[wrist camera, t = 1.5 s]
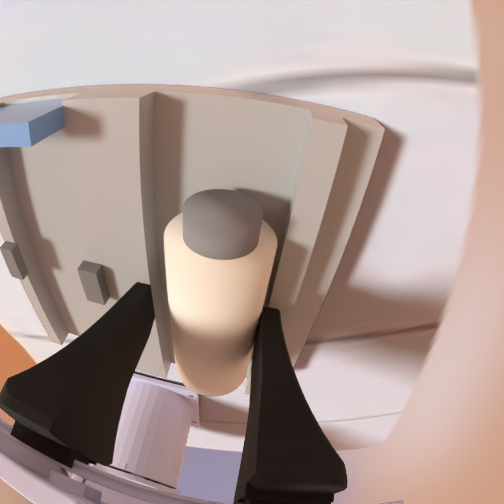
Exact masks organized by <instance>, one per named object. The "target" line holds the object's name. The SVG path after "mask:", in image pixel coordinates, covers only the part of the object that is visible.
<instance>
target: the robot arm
mask: <svg viewBox="0 0 504 504" xmlns="http://www.w3.org/2000/svg"><path fill="white" fill-rule="evenodd" d="M154 319H155V311H154V305H153V298H152V291H151V285H149V284H145V283H140V282H136V283H135V284H134V285H133V286H132V287H131V288H130V289H129V290H128V291H127V292H126V293H125V294H124V295H123V296H122V297H121V298H120V299H119V300H118V301H117V302H116V303H115V304H114V305H113V306H112V307H111V308H110V309H109V310H108V311H107V312H106V313H105V314H104V315H103V316H102V317H101V318H100V319H99V320H97V321H96V322H95V323H94V324H93V325H92V326H91V327H89V328H88V329H87V330H86V331H85V332H84V333H82V334H81V335H80V336H79V337H78V338H76V339H75V340H74V341H72V342H71V343H70V344H68V345H67V346H66V347H64V348H63V349H61V350H60V351H58V352H57V353H55V354H54V355H52V356H51V357H49V358H47V359H46V360H44V361H42V362H40V363H39V364H37V365H35V366H33V367H31V368H30V369H28V370H26V371H23V372H21V373H19V374H17V375H14V376H12V377H10V378H8V379H7V381H6V382H5V384H4V386H3V388H2V391H1V393H0V408H1V409H2V410H3V411H5V412H6V413H7V414H8V415H9V416H11V417H12V418H13V419H14V420H15V423H14V426H12V425H10V424H8V423H7V422H5V421H4V420H2V419H1V418H0V478H1V479H2V480H3V481H4V482H6V483H7V484H8V485H9V486H11V487H12V488H13V489H15V490H16V491H17V492H19V493H20V494H21V495H23V496H24V497H26V498H27V499H28V500H30V501H31V502H33V503H34V504H224V503H218V502H212V501H206V500H201V499H196V498H191V497H187V496H182V495H180V490H176V487H177V482H178V478H179V473H180V468H181V465H182V460H183V456H184V451H185V447H186V442H187V438H188V434H189V429H190V425H192V426H199V424H200V417H199V394H198V393H195V392H193V391H192V390H190V389H189V388H187V387H186V386H182V385H177V384H173V383H169V382H165V381H161V380H157V379H153V378H150V377H146V376H142V375H139V374H135V373H134V372H135V369H136V367H137V365H138V362H139V360H140V358H141V355H142V353H143V351H144V348H145V346H146V344H147V341H148V339H149V336H150V333H151V330H152V326H153V323H154ZM89 463H91V466H90V465H88V464H89ZM66 470H67V471H69V472H71V473H73V475H72V477H71V478H70V477H69V476H68V473H67V471H66ZM346 488H347V474H346V469H345V464H344V462H343V461H342V459H341V458H340V457H339V455H338V454H337V453H336V451H335V450H334V448H333V447H332V445H331V444H330V442H329V441H328V439H327V438H326V436H325V434H324V433H323V431H322V429H321V428H320V426H319V424H318V422H317V421H316V419H315V417H314V415H313V413H312V411H311V409H310V407H309V405H308V403H307V401H306V399H305V397H304V395H303V392H302V390H301V388H300V385H299V383H298V380H297V377H296V375H295V372H294V369H293V366H292V363H291V360H290V356H289V353H288V349H287V346H286V342H285V338H284V333H283V328H282V323H281V315H280V310H279V309H276V308H270V307H264V306H263V309H262V313H261V317H260V321H259V325H258V329H257V333H256V337H255V342H254V349H253V355H252V366H251V386H250V405H249V416H248V422H247V429H246V435H245V441H244V447H243V453H242V459H241V464H240V470H239V476H238V482H237V486H236V492H235V497H234V503H233V504H331V502H333V501H334V493H337V492H340V491H343V490H345V489H346ZM381 504H403V501H395V502H388V503H381Z"/></svg>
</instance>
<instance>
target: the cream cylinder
mask: <svg viewBox="0 0 504 504" xmlns="http://www.w3.org/2000/svg"><path fill="white" fill-rule="evenodd" d="M276 249H277V237H276V235H275V232H274V231H273V229H272V228H271V227H270V225H269V224H268V223H266V222H265V221H264V220H263V208H262V206H261V205H260V204H259V203H258V202H257V201H256V200H255V199H254V198H252V197H250V196H248V195H246V194H244V193H241V192H238V191H233V190H227V189H210V190H204V191H200V192H197V193H195V194H193V195H191V196H190V197H188V198H187V199H186V201H185V202H184V204H183V212H182V213H181V214H179V215H177V216H176V217H175V218H173V219H172V220H171V221H170V222H169V224H168V225H167V227H166V229H165V232H164V253H165V268H166V281H167V293H168V304H169V314H170V323H171V332H172V341H173V349H174V356H175V364H176V370H177V374H178V376H179V378H180V380H181V381H182V383H183V384H184V385H185V386H186V387H187V388H189V389H190V390H192V391H193V392H195V393H198V394H201V395H204V396H221V395H225V394H228V393H230V392H232V391H234V390H235V389H237V388H238V387H239V386H240V385H241V384H242V382H243V381H244V379H245V377H246V373H247V369H248V365H249V362H250V358H251V354H252V350H253V345H254V341H255V337H256V333H257V329H258V325H259V321H260V317H261V313H262V309H263V305H264V300H265V296H266V292H267V288H268V283H269V279H270V275H271V271H272V266H273V262H274V258H275V253H276Z"/></svg>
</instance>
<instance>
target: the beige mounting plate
mask: <svg viewBox="0 0 504 504" xmlns="http://www.w3.org/2000/svg"><path fill="white" fill-rule="evenodd" d="M384 131H385V128H384V127H383V126H382V125H381V124H380V123H378V122H377V121H376V120H375V119H374V118H372V117H368V116H365V115H361V114H357V113H354V112H350V111H346V110H342V109H338V108H334V107H329V106H325V105H321V104H316V103H311V102H307V101H302V100H297V99H291V98H286V97H280V96H274V95H268V94H262V93H255V92H247V91H240V90H231V89H222V88H211V87H199V86H184V85H159V84H120V85H96V86H81V87H70V88H60V89H51V90H43V91H36V92H30V93H23V94H18V95H12V96H7V97H2V98H0V232H1V234H2V237H3V240H4V244H3V245H2V246H1V247H0V250H1V252H2V255H3V257H4V259H5V262H6V264H7V266H8V269H9V271H10V273H11V275H12V276H13V277H15V278H18V279H20V281H21V284H22V286H23V288H24V290H25V292H26V294H27V296H28V298H29V300H30V302H31V304H32V306H33V308H34V310H35V312H36V314H37V316H38V318H39V320H40V322H41V323H42V325H43V327H44V329H45V331H46V332H47V334H48V336H49V338H50V339H51V341H52V342H55V343H58V344H60V345H62V344H63V342H64V340H65V339H66V337H67V335H68V333H72V334H75V335H78V336H80V335H81V334H82V333H84V332H85V331H86V330H87V329H88V328H89V327H91V326H92V325H93V324H94V323H95V322H96V321H97V320H99V319H100V318H101V317H102V316H103V315H104V314H105V313H106V312H107V311H108V310H109V309H110V308H111V307H112V306H113V305H114V304H115V303H116V302H117V301H118V300H119V299H120V298H121V297H122V296H123V295H124V294H125V293H126V292H127V291H128V290H129V289H130V288H131V287H132V286H133V285H134V284H135V283H136V282H140V283H145V284H149V285H151V291H152V298H153V305H154V311H155V319H154V323H153V326H152V330H151V333H150V336H149V339H148V341H147V344H146V346H145V348H144V351H143V353H142V355H141V358H140V360H139V362H138V365H137V367H136V369H135V370H138V371H142V372H146V373H149V374H153V375H157V376H161V377H165V378H166V377H167V374H168V371H169V367H170V364H171V363H175V356H174V349H173V341H172V332H171V323H170V314H169V304H168V293H167V281H166V268H165V253H164V232H165V229H166V227H167V225H168V224H169V222H170V221H171V220H172V219H173V218H175V217H176V216H177V215H179V214H181V213H182V212H183V204H184V202H185V201H186V199H187V198H188V197H190V196H191V195H193V194H195V193H197V192H200V191H204V190H210V189H227V190H233V191H238V192H241V193H244V194H246V195H248V196H250V197H252V198H254V199H255V200H256V201H257V202H258V203H259V204H260V205H261V206H262V208H263V220H264V221H265V222H266V223H268V224H269V225H270V227H271V228H272V229H273V231H274V232H275V235H276V237H277V249H276V253H275V258H274V262H273V266H272V271H271V275H270V279H269V283H268V288H267V292H266V296H265V300H264V305H263V306H264V307H270V308H276V309H279V310H280V315H281V323H282V328H283V333H284V338H285V342H286V346H287V349H288V353H289V356H290V360H291V363H292V366H293V367H294V365H295V363H296V361H297V359H298V357H299V355H300V353H301V350H302V348H303V346H304V344H305V342H306V340H307V337H308V335H309V333H310V331H311V329H312V326H313V324H314V322H315V320H316V317H317V315H318V313H319V311H320V308H321V306H322V304H323V301H324V299H325V297H326V294H327V292H328V289H329V287H330V285H331V282H332V280H333V277H334V275H335V272H336V270H337V267H338V265H339V262H340V260H341V257H342V255H343V252H344V250H345V247H346V244H347V242H348V239H349V236H350V234H351V231H352V228H353V226H354V223H355V220H356V217H357V215H358V212H359V209H360V206H361V203H362V200H363V197H364V194H365V191H366V189H367V186H368V183H369V179H370V176H371V173H372V170H373V167H374V164H375V161H376V158H377V154H378V151H379V148H380V144H381V141H382V138H383V134H384ZM254 342H255V341H254ZM253 349H254V345H253ZM252 355H253V350H252V354H251V358H250V362H249V365H248V369H247V373H246V378H247V383H246V390H245V394H249V395H250V386H251V366H252Z"/></svg>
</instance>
